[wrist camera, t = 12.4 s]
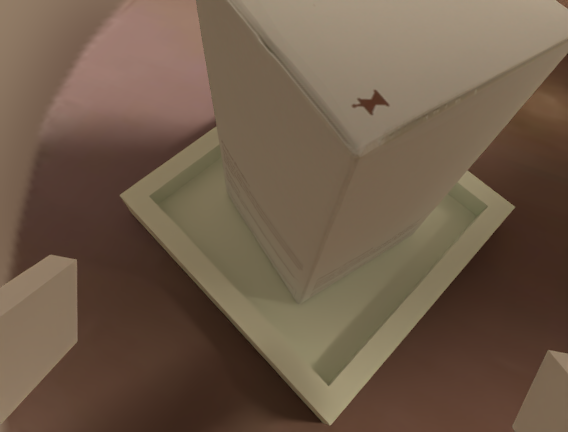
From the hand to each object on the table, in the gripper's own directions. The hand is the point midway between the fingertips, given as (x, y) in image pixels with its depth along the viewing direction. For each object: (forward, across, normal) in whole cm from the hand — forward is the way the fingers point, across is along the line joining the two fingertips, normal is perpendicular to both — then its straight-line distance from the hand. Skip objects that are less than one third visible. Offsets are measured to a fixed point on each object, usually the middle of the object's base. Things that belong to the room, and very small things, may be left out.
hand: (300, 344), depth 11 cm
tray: (+11, 0, 0) cm, 11 cm away
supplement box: (+11, 0, 0) cm, 11 cm away
